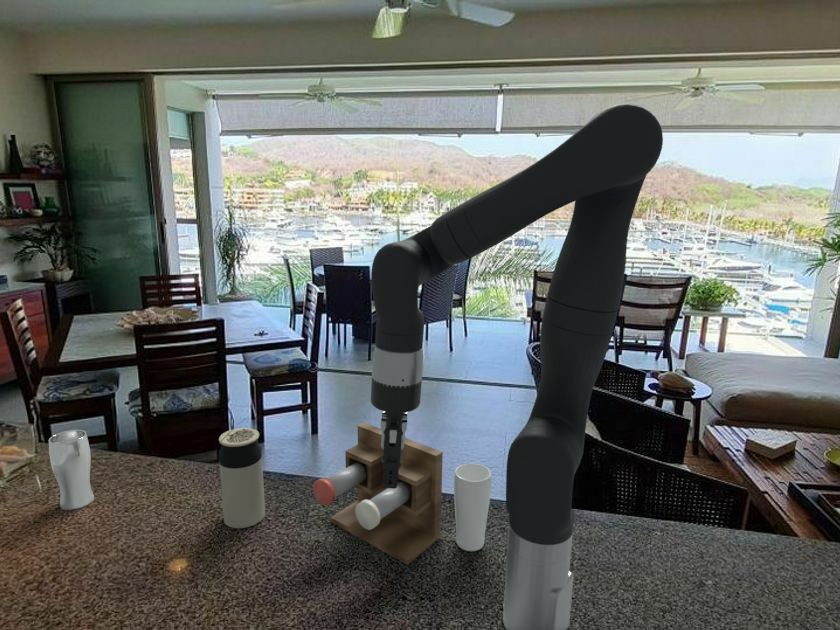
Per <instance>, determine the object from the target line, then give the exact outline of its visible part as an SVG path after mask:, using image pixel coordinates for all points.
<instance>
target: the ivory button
mask: <svg viewBox="0 0 840 630" xmlns="http://www.w3.org/2000/svg"><path fill="white" fill-rule="evenodd" d="M410 497H411V492H410V489H409V487H408V486H407V484H406V483H404V482H402V481H399V482H398V486H397V488H395V489H392V488H387V489H386V490H384V491H383V492H381V493H379V494H378V495H376V496H375V497H373V498H372V499H370V500H367V499H366V500H363V501H361V502H360V503H358V504H357V505H356V508H355V514H356V518H357V520H358V522H359V523H360V525H361V526H362V527H364V528H365V529H368V530H371V529H373V528H375V527H376V526H377V525H378V524H379V523H380V520H381V519H382V518H384V517H385V516H386V515H388V514H389V513H391V512H392V511H394V510H395V509H397V508H398V507H399V506H401V505H402V504H404V503H405V502H407V501H408V500H409V499H410Z"/></svg>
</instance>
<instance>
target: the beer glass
mask: <svg viewBox="0 0 840 630" xmlns="http://www.w3.org/2000/svg"><path fill="white" fill-rule="evenodd" d="M89 442H90V441H89V439H88V435H87V432H86V430H83V429H70V430H69V429H68V430H65V431H64V430H63V431H61V432H58V433H56V434H53V435H52V436H50V437H49V439H48V453H49V461H50V467H51V469H52V472H53V475H54V477H55V480H56V482H57V484H58V487H59V493H60V497H59V499H60V500H59V507H60V508H61V509H62V510H66V511H72V510H78V509H81V508H84V507H86V506H87V505H89V504H91V503H92V502H93V501H94V500H95V495H94V493H93V489H92V486H91V484H90V483H91V482H90V481H91V480H90V478H91V477H90V476H91V466H92V465H91V463H92V460H91V458H92V457H91V447H90V444H89Z"/></svg>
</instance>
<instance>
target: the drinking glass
mask: <svg viewBox="0 0 840 630" xmlns="http://www.w3.org/2000/svg"><path fill="white" fill-rule="evenodd" d="M453 480H454V481H453V500H454V513H455V531H456V533H455V541H456V544H457V546H458V547H459V548H460V549H462V550H463V551H467V552H476V551H479V550H481V549H483V547H484V545H485V540H486V539H485V538H486V529H487V521H488V514H489V508H490V501H491V492H492V472H491V470H490V469H489V468H488V467H487V466H485V465H482V464H479V463H463V464H461V465H459V466H458V467H456V468H455V470H454V479H453Z"/></svg>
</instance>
